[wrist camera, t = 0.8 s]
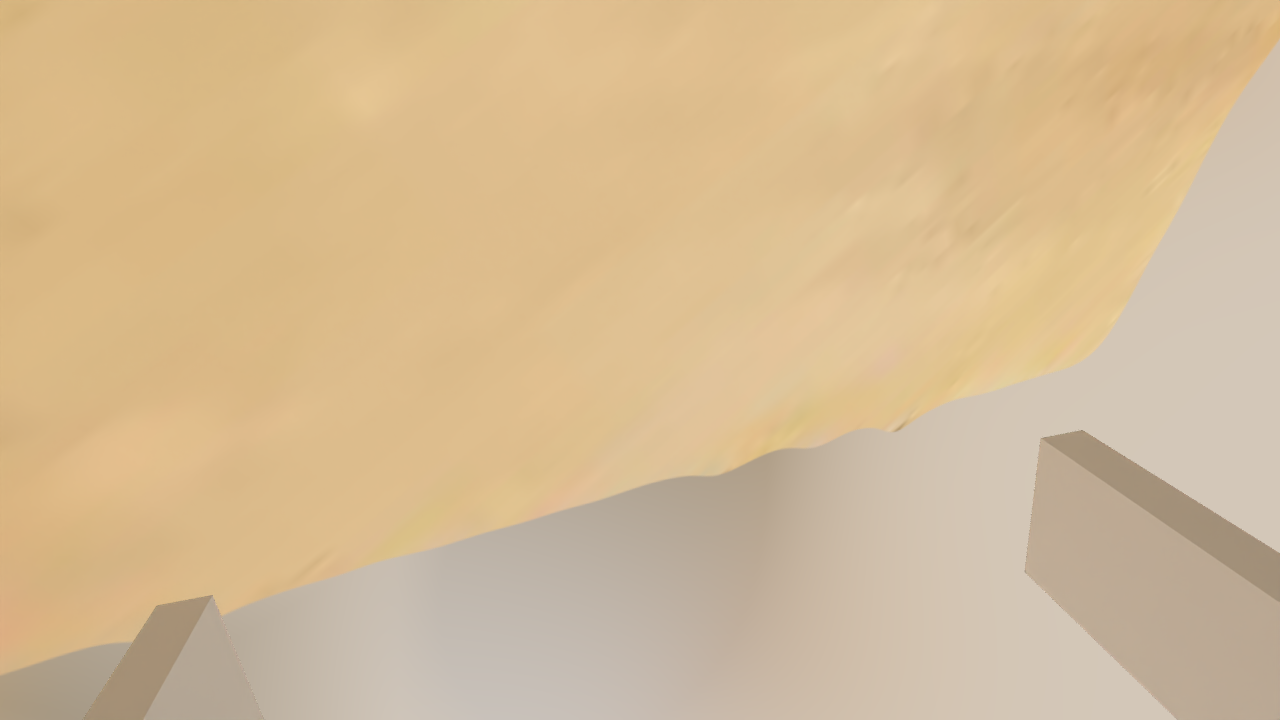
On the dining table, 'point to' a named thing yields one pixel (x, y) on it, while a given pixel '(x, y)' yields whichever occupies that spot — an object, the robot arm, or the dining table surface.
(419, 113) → the dining table surface
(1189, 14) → the dining table surface
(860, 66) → the dining table surface
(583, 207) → the dining table surface
